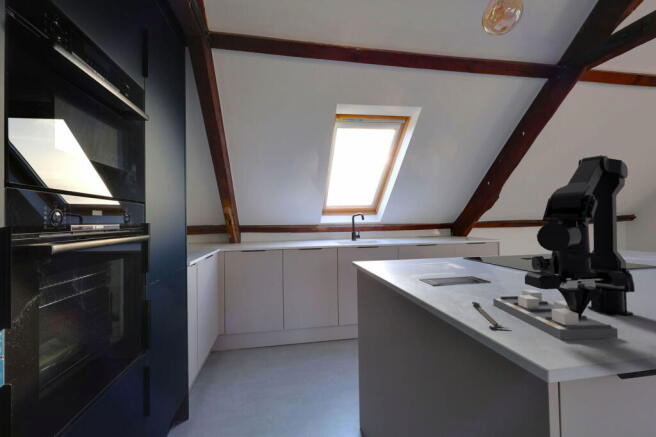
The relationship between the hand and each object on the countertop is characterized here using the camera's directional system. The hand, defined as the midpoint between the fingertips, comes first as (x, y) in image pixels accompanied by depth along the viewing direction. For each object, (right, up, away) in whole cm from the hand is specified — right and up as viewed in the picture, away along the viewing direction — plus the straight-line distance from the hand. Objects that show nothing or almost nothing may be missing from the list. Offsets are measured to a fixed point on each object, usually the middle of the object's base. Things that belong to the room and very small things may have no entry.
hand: (576, 317), depth 65 cm
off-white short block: (-2, -1, 0) cm, 3 cm away
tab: (-2, -1, +12) cm, 12 cm away
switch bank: (0, -3, +9) cm, 10 cm away
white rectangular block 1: (+3, -1, +18) cm, 18 cm away
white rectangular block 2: (+3, -1, +6) cm, 7 cm away
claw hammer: (-12, -4, +12) cm, 18 cm away
